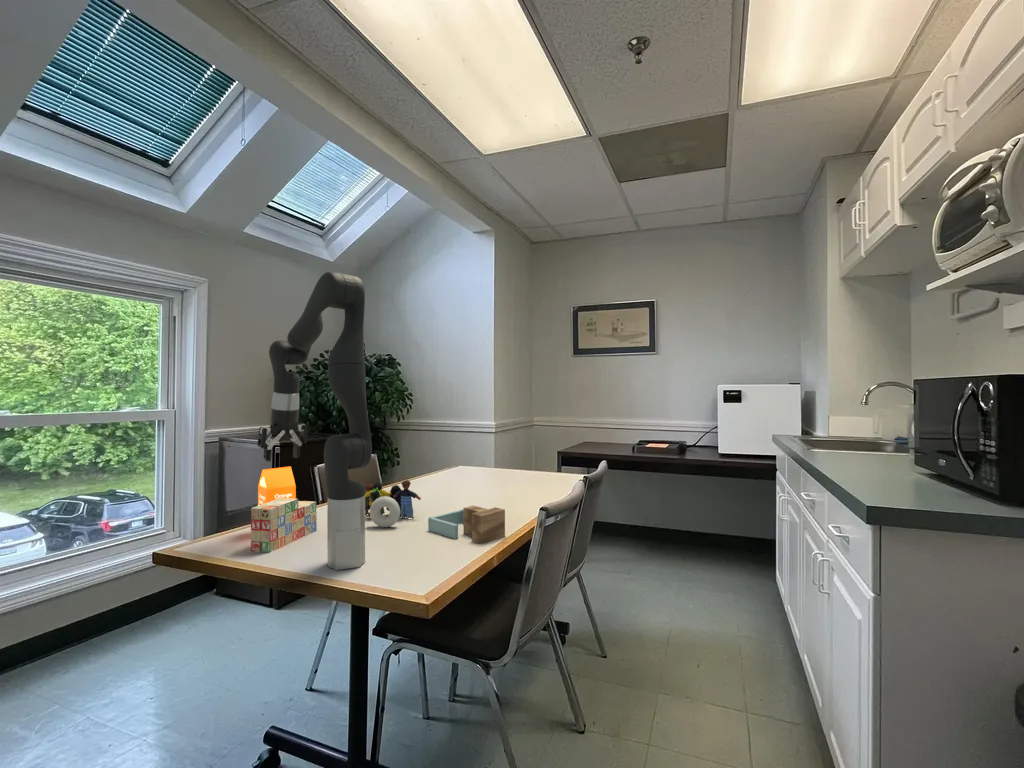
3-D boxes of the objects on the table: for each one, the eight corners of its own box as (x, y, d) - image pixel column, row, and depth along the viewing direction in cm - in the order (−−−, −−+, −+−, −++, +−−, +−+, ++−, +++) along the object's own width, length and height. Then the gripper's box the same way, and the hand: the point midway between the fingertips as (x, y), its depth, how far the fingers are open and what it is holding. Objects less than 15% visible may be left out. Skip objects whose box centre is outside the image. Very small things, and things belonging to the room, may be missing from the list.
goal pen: (489, 528, 157) (489, 516, 157) (455, 538, 146) (455, 525, 146) (462, 521, 165) (462, 509, 165) (428, 530, 154) (428, 517, 154)
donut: (401, 526, 159) (401, 495, 159) (398, 529, 156) (398, 497, 156) (372, 525, 161) (372, 494, 161) (368, 528, 157) (368, 497, 157)
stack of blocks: (299, 529, 156) (299, 491, 156) (317, 530, 155) (317, 491, 155) (250, 551, 135) (250, 507, 135) (270, 553, 134) (270, 508, 134)
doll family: (424, 513, 176) (424, 476, 176) (420, 520, 167) (420, 481, 167) (359, 514, 175) (359, 476, 175) (352, 520, 166) (352, 481, 166)
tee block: (505, 535, 149) (504, 509, 149) (481, 543, 142) (481, 516, 142) (479, 528, 156) (479, 503, 156) (456, 536, 149) (456, 509, 149)
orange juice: (296, 530, 154) (296, 467, 155) (266, 537, 148) (266, 471, 148) (286, 526, 160) (286, 464, 160) (257, 531, 154) (257, 468, 154)
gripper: (267, 410, 140) (264, 465, 141) (314, 408, 151) (310, 459, 153) (255, 406, 144) (252, 459, 146) (301, 403, 155) (298, 453, 157)
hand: (282, 459), depth 149 cm, fingers open, 8 cm apart
